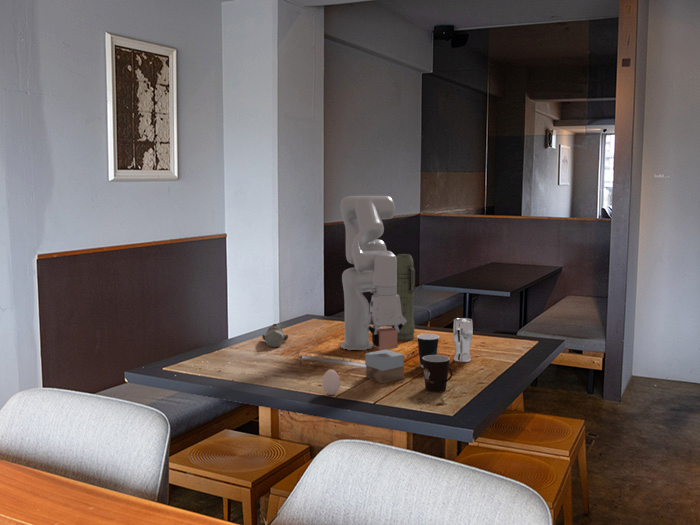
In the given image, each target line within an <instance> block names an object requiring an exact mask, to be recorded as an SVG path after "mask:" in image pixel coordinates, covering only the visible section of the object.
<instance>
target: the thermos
mask: <svg viewBox="0 0 700 525" xmlns="http://www.w3.org/2000/svg"><path fill="white" fill-rule="evenodd" d="M395 256H396V258H397V295H399V297H400V303H401V312H402V316H403V317H404V318H405V319H406V320H407V322H406V323H405V324H404V325H403V327H402V328H401V329H400V331H399V333H398V341H400V342H401V341H403V342H404V341H413V340H414V339H415V337H414V336H415V324H416V323H415V320H414V298H415V288H416V269H415V267H414V259H413V256H412V255H411V254H410V253H398V254H396V255H395Z"/></svg>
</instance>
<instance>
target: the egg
mask: <svg viewBox="0 0 700 525" xmlns="http://www.w3.org/2000/svg"><path fill="white" fill-rule="evenodd" d="M321 382H322V383H321V385H322V388H323V391H324V393H326V395H329V396H334V395H336V394H337V393H338V391H339V389H340V387H341V379H340V376H339V374H338V373H337V372H336V371H335V369H328V370H327V371H326V372H324V375H323V377H322V380H321Z"/></svg>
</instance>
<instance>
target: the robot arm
mask: <svg viewBox="0 0 700 525" xmlns="http://www.w3.org/2000/svg"><path fill="white" fill-rule="evenodd" d="M339 209H340V215H341V218H342V221H343V224H344V228H345V257H346V258H345V259H346V260H347V262H348V263H349V264H351V265H353V266H354V267H349V268H347V269H345V270H343V272H342V274H341V282H342V287H343V288H342V290H343V299H344V300H343V301H344V342H342V343H340V348H341V349H342V348H343V349H342V350H345V349H347V351H351V350H363V351H368V350H367V349H369V350H371V349H373V347H374V346H376V347H378V346H379V335H378V330H379V328H381V327H391V328H394V329H396V330H397V342H398V341H399V340H398V333H399V331H400V329H401V328H402V327H403V325H404V324H405V323H406V322H407V320H406V319H405V318H404V317H403V316H402V312H401V303H400V297H399V295H397V258H396V256H397V255H396V254H394V253H393V252H392V251H390V250H388V249H387V245H386V243H385V242H384V241H383V240H382V239H379V238H380V237H381V236H382V235H384V231H385V227H384V222H383V220H391V219H392V218H394V216H395V213H396V206H395V202H394V200H393V199H392V197H391V196H389V195H349V196H345V197H344V198H342V199H341V201H340V208H339ZM367 292H370V293H371V294H372V295H371V300H370V305H369V300H368V299H367V298H366V296H365V295H364V294H363V293H367ZM371 325H372V326H371ZM370 333H371V340H372V342H370ZM373 345H374V346H373ZM376 347H375V348H376Z"/></svg>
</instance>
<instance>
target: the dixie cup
mask: <svg viewBox="0 0 700 525" xmlns="http://www.w3.org/2000/svg"><path fill="white" fill-rule="evenodd" d="M416 338H417V346H418V355H419V356H418V357H419V364H420V368H422V369H423V360H422V357H424V356H427V355H438V345H439V339H440V336H439V335H438V334H435V333H421V334H418V335H416Z"/></svg>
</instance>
